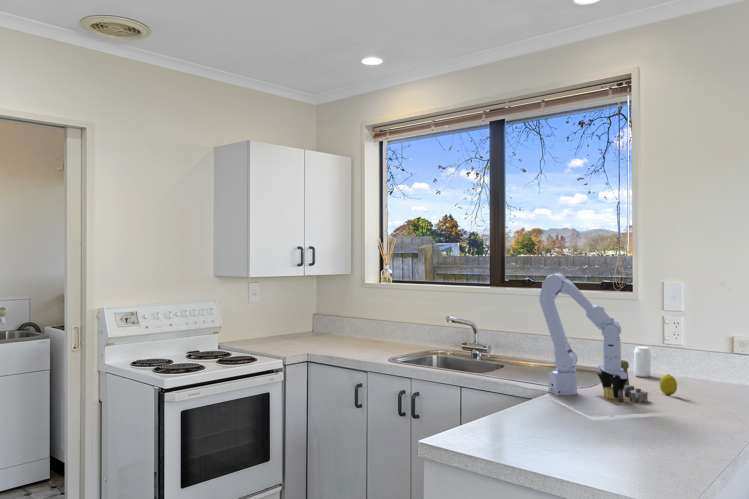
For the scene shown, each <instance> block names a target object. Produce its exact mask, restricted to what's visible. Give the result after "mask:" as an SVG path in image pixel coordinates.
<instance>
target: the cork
mask: <svg viewBox="0 0 749 499" xmlns="http://www.w3.org/2000/svg"><path fill="white" fill-rule="evenodd" d="M621 368H622V369H624V372H625V373H627V382H626V383H625V385H630V379H629V374H628V369H629V368H630V364H629V362H628V361H627V360H624V359H621ZM614 377H615V376H614ZM625 385H624V386H625ZM623 390H624V387H623Z"/></svg>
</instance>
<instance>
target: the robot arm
mask: <svg viewBox="0 0 749 499" xmlns="http://www.w3.org/2000/svg"><path fill="white" fill-rule="evenodd" d="M559 294H562V295H564V294H565V295H566V296H567V295H568V296H570V297H571V298H572V299H573V300H574V301H575V302H576V303H577V304H578V305H580V307H581V308H582V309H583V310H584V311H585V317H586V318H587V319H588V320H589V321H590V322H591V323H592V324H593V325H594V326H595V327H596V328H598V329H597V330H600V332H601V334H602V336H603V343H602V346H603V348H602V349H603V350H602V352H603V353H602V356H603V361H602V362H603V363H602V364H598V365H597V367H598V368H597V371H599V372H597V377H598V379H599V380H600V383H601V386H602V389H603V391H604V388H605V387H613V394H614V397H615V398H618V390H623V391H624V389H623V387H624V385H625V383H626V382H627V373H625V372H624V369H622V368H621V360H622V358H621V357H622V345H621V336H620V335H621V333H622V326H621V325H620V323H619V322H617V321H616V320H615V319H614V318H613V317H611V316H610V315H609V314H608V313H606V311H605V307H603V306H600V305H598V304H593V303H592V302H591V301H590V300H589V299H588V298H587V297H586V295H584V293H583V292H582V291H581V290H580V289H579V288H578V287H577V286H576V285H575V283H573V282H572V281H571V280H570V279H569V278H567V277H566V276H565V275H564V274H562V273H559V272H557V273H553V274H548V275H547V276H546V277H545V279H544V280H543V281H542V282H541V289H540V294H539V297H538V299H539V300H538V301H539V303H540V307H541V310H542V312H543V316H544V319H545V322H546V325H547V329H548V331H549V334H550V337H551V340H552V343H553V352H554V353H553V355H554V358H555V359H554V365H555V367H556V368H555V370H552V371H550V372H549V373H548V392H549V393H551V394H553V395H555V396H563V395H564V396H571V395H574V396H575V395H576V394H578V377H577V372H578V369H577V368H576V365H577V363H578V356H577V354H576V352H574V350H573V349H572V347H571V345H570V343H569V342H568V339H567V336H566V332H565V330H564V327H563V324H562V321H561V318H560V315H559V311H558V308H557V305H556V303H555V300H556V299H557V297H558V295H559ZM614 376H615V377H614Z"/></svg>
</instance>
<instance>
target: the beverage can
mask: <svg viewBox="0 0 749 499" xmlns="http://www.w3.org/2000/svg"><path fill="white" fill-rule="evenodd" d="M651 360H652V359H651V350H650V349H649V347H648V346H642V345H641V346H639V345H637V346H635V349H634V350H633V374H634V375H635V376H636V377H637V378H649V377H650V376H651V366H652V364H651Z"/></svg>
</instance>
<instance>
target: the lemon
mask: <svg viewBox="0 0 749 499" xmlns="http://www.w3.org/2000/svg"><path fill="white" fill-rule="evenodd" d="M659 388H660V391H661V392H662V393H663V394H665V395H666V396H668V397H671V395H674V394H675V393H676V392H677V389H678V384H677V380H676V378H675V377H674V376H673V375H671V374H669V373H666V374H665V375H663V376H662V377H661V378H660V381H659Z"/></svg>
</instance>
